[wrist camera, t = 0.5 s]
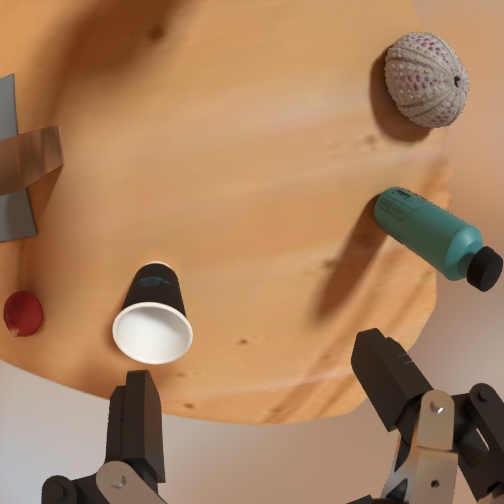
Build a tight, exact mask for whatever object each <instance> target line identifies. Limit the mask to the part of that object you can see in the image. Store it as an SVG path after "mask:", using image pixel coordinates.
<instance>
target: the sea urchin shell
mask: <svg viewBox="0 0 504 504" xmlns="http://www.w3.org/2000/svg"><path fill="white" fill-rule="evenodd" d="M387 53H388V55H387V56H386V57H385V58H386V59H385V61H386V66H385V68H384V70H385V77H386V80H385V82H387V87H388V92H389V93H390V94H391V97H392V99H393V100H394V101H395V102H396V106H397V107H398V110H400V111H401V114H404V116H407V117H409V119H410V121H414V122H415V123H416V125H418V124H419V125H421V126H422V127H428V128H429V127H430V128H434V127H435V128H436V127H438V128H440V127H441V126H443V127H446V126H447V125H448V126H450V125H451V123H453V122H454V121H455V120H456V119H457V118H458V116H459V115H460V113H462V110H464V109H463V107H464V106H465V101H466V97H467V93H468V91H469V87H468V85H469V78H468V76H467V74H466V73H467V71H466V69H465V68H464V67H463V65H462V63H461V62H460V60H459V58H458V57H457V55H456V53H455V52H454V51H453V48H450V46H449V45H448V44H446V43H445V42H444V41H443V40H442V39H441V38H439V37H438V36H437V35H434V34H433V35H432V34H431V33H426V32H425V33H424V34H423V33H422V32H420V33H418V32H417V33H414V32H412V33H409V34H408V35H403V37H400V38H399V39H398V40H397V41H396V42H395V43H393V47H392V48H389V50H388V51H387Z"/></svg>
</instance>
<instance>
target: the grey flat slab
mask: <svg viewBox="0 0 504 504" xmlns="http://www.w3.org/2000/svg"><path fill="white" fill-rule="evenodd" d="M17 135H18V129H17V118H16V105H15V84H14V74H10V75H8V76H5V77H3V78H0V141H1V140H4V139H7V138H10V137H13V136H17ZM37 234H38V233H37V230H36V226H35V222H34V218H33V214H32V210H31V206H30V201H29V197H28V192H27V187H26V188H24V189H23V190H21V191H18V192H14V193H10V194H6V195H2V196H0V242H2V241H8V240H13V239H18V238H24V237H30V236H35V235H37Z"/></svg>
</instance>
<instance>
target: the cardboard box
mask: <svg viewBox="0 0 504 504" xmlns="http://www.w3.org/2000/svg"><path fill="white" fill-rule="evenodd" d="M63 164H64V158H63V151H62V143H61V135H60V125H56V126H52V127H47V128H43V129H39V130H35V131H31V132H28V133H24V134H20V135H17V136H13V137H10V138H7V139H4V140H1V141H0V196H2V195H6V194H10V193H14V192H18V191H21V190H23V189H24V188H26V187H27V186H29V185H30V184H32V183H33V182H35V181H36V180H38V179H40V178H41V177H43V176H44V175H46V174H48V173H49V172H51V171H53V170H54V169H56V168H58V167H59V166H61V165H63Z"/></svg>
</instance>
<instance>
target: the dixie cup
mask: <svg viewBox="0 0 504 504" xmlns="http://www.w3.org/2000/svg"><path fill="white" fill-rule="evenodd" d="M112 333H113V338H114V341H115V343H116V345H117V346H118V347H119V349H120V350H121V351H122V352H123V353H124V354H126V355H127V356H129V357H130V358H132V359H134V360H136V361H139V362H142V363H147V364H165V363H169V362H172V361H175V360H177V359H179V358H180V357H182V356H183V355H184V354H185V353H186V352H187V351H188V349H189V348H190V346H191V343H192V340H193V332H192V328H191V326H190V323H189V322H188V320H187V318H186V313H185V309H184V305H183V300H182V296H181V292H180V287H179V282H178V278H177V276H176V274H175V272H174V271H173V269H172V268H171V267H170V266H169V265H167V264H166V263H163V262H160V261H152V262H149V263H147V264H145V265H144V266H143V267H142V268H141V269H140V270H139V271H138V272H137V274H136V276H135V278H134V280H133V283H132V285H131V288H130V290H129V292H128V295H127V297H126V300H125V302H124V305H123V307H122V310H121V312H120V313H119V314H118V316H117V317H116V319H115V321H114V323H113V328H112Z"/></svg>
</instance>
